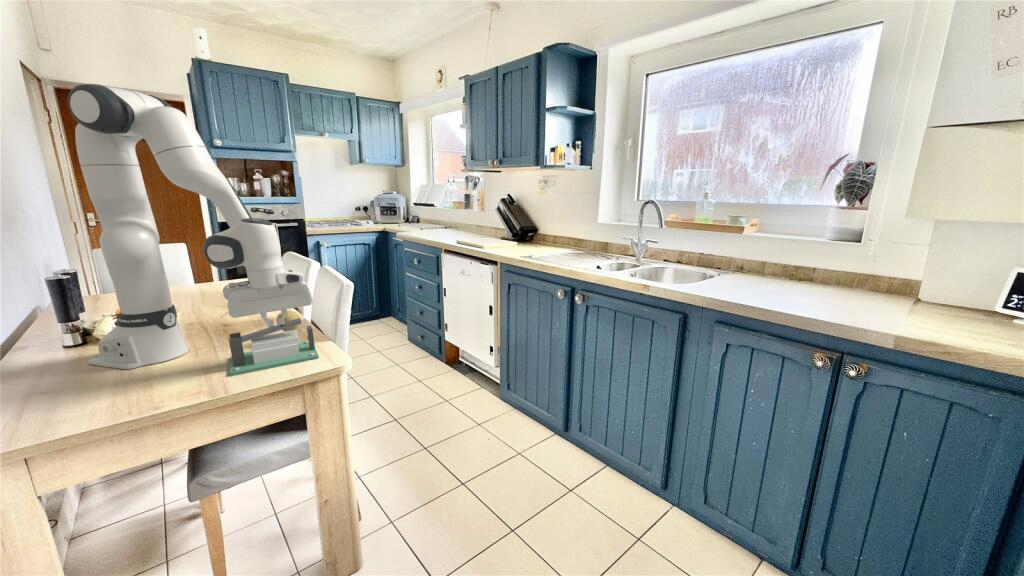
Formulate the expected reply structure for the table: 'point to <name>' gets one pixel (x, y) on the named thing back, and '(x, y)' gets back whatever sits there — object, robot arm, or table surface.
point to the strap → (269, 330)
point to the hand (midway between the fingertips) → (276, 325)
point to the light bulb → (289, 316)
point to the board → (273, 363)
